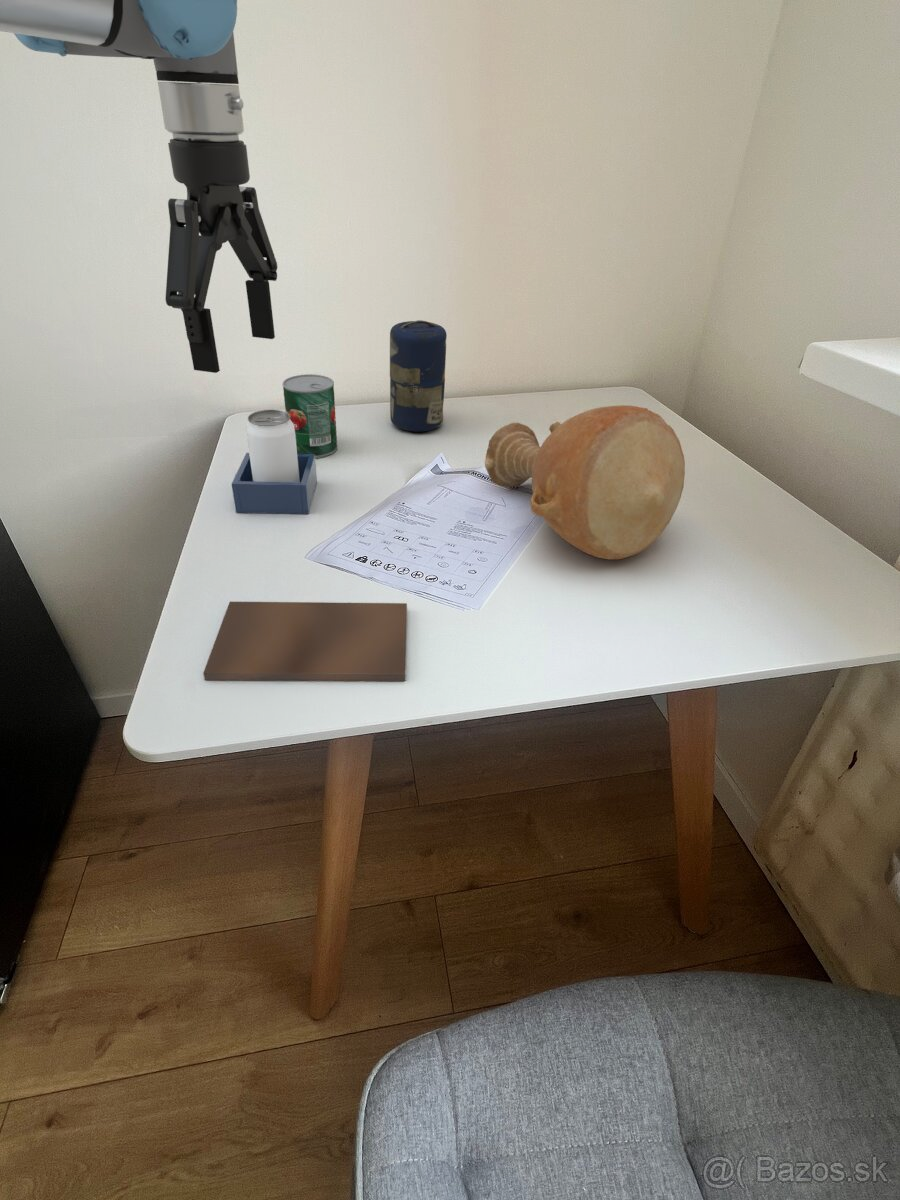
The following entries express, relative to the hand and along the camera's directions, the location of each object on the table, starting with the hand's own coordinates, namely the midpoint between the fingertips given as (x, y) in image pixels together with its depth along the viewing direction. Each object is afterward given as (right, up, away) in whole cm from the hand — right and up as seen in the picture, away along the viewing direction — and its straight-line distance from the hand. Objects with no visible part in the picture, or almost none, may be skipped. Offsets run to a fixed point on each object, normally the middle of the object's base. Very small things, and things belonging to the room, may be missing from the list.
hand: (237, 353), depth 82 cm
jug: (+42, -18, +16) cm, 49 cm away
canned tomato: (+3, -4, +33) cm, 33 cm away
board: (+10, -34, -7) cm, 36 cm away
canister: (+19, +2, +43) cm, 47 cm away
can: (0, -14, +19) cm, 24 cm away
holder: (0, -14, +19) cm, 24 cm away
